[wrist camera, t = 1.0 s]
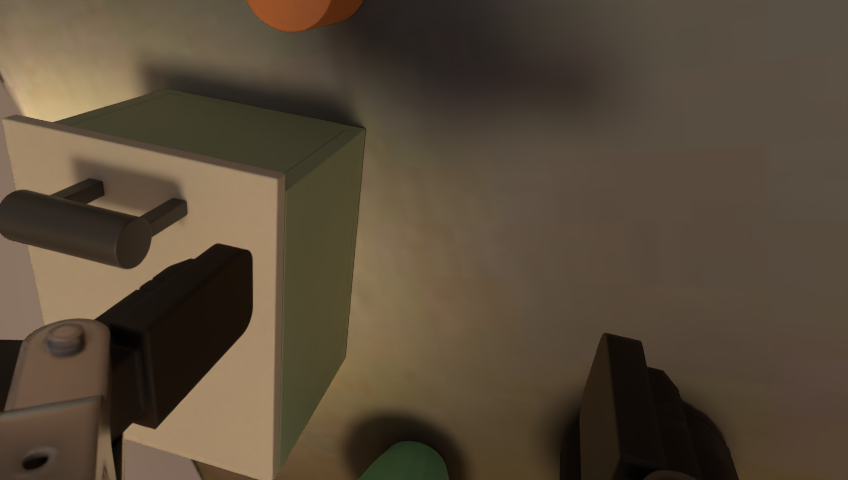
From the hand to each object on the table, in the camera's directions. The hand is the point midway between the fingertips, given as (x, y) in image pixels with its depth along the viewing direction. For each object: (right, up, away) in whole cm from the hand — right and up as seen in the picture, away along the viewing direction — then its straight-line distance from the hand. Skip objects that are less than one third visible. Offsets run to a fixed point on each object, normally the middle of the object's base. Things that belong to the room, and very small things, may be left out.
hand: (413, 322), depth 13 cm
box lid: (-13, -2, +15) cm, 20 cm away
